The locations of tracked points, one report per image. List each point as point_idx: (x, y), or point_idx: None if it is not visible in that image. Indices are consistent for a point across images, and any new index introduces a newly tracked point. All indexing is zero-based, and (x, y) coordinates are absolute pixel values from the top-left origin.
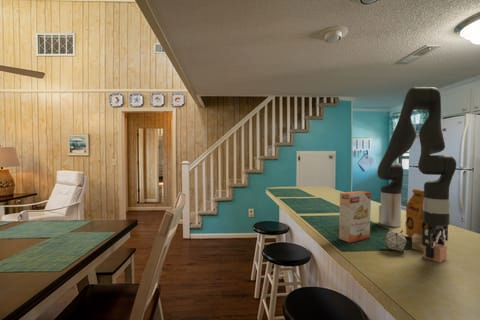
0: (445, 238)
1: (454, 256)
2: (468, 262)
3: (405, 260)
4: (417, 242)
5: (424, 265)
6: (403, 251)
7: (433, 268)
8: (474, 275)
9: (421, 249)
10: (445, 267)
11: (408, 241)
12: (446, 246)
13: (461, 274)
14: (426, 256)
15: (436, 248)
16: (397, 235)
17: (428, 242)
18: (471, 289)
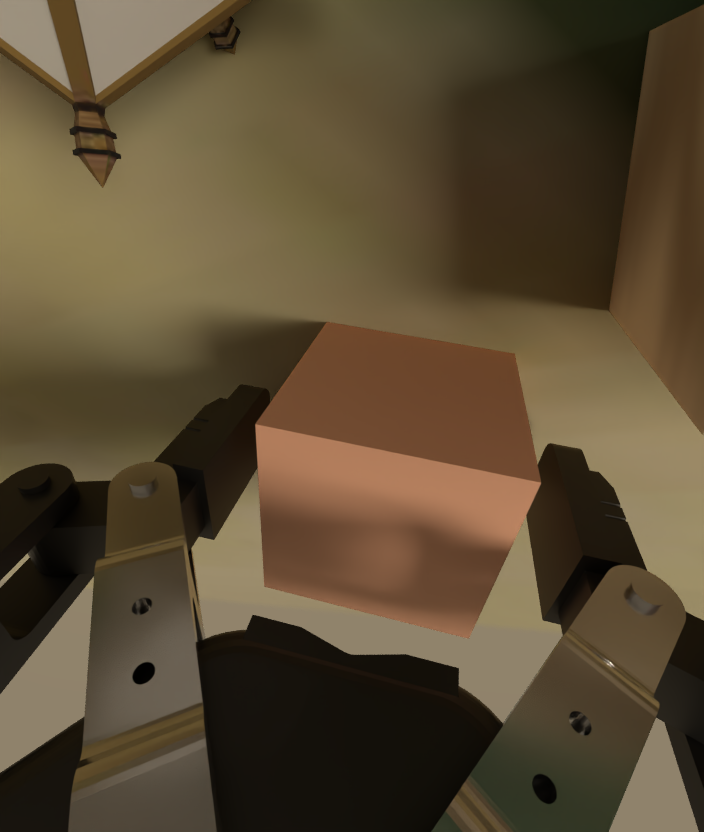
0: (680, 734)
1: (649, 538)
2: (536, 603)
3: (25, 206)
4: (693, 162)
5: (117, 380)
6: (224, 37)
7: (135, 439)
8: (282, 603)
9: (631, 225)
10: (247, 495)
11: (81, 154)
12: (465, 629)
13: (224, 560)
14: (245, 387)
15: (266, 548)
16: None
17: (436, 468)
18: None
